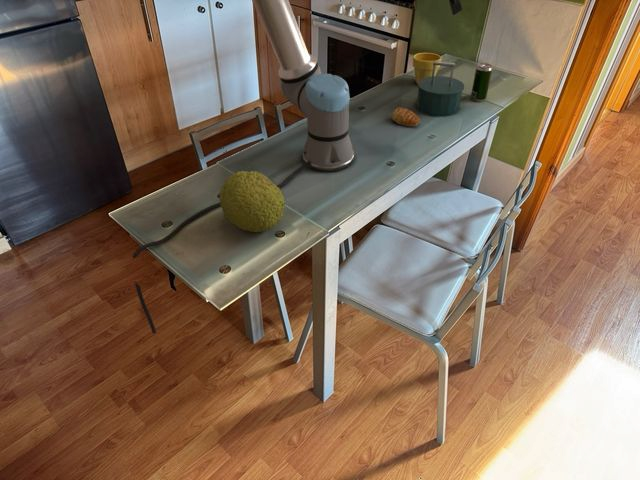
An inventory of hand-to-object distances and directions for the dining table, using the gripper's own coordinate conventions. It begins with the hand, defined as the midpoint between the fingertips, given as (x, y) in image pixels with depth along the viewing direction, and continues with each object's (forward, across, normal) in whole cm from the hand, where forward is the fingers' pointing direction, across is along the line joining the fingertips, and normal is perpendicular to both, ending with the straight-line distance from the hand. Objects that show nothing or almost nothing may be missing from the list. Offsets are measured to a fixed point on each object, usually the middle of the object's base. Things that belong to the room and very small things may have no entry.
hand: (447, 4), depth 143 cm
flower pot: (+35, +18, +10) cm, 41 cm away
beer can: (+38, -2, -1) cm, 38 cm away
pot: (+30, -4, +14) cm, 34 cm away
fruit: (-7, -51, +76) cm, 92 cm away
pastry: (+23, -10, +27) cm, 37 cm away
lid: (+24, -3, +10) cm, 26 cm away
